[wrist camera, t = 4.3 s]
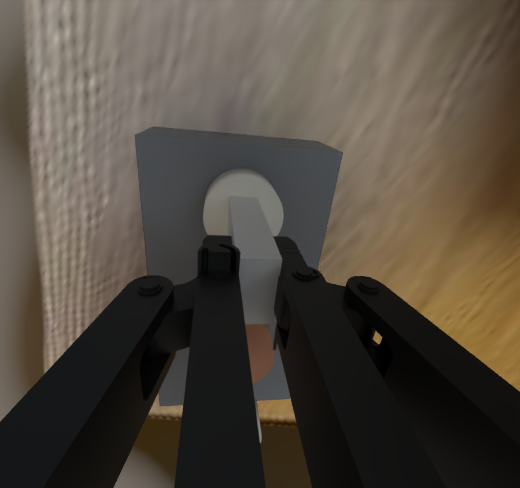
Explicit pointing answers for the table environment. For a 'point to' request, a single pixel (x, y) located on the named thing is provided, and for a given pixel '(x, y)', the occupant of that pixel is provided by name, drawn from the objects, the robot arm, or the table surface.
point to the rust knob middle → (259, 350)
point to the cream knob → (242, 186)
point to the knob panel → (192, 206)
